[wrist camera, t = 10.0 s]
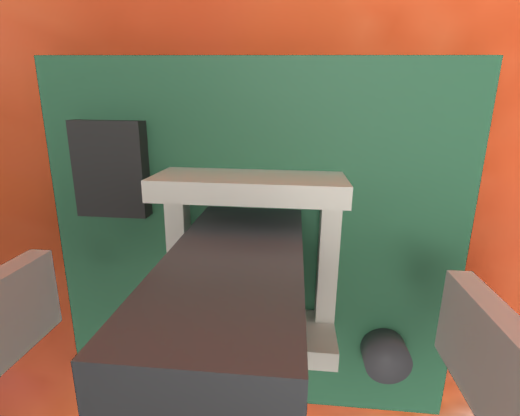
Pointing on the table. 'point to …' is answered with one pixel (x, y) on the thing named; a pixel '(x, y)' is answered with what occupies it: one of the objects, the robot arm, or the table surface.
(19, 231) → the table surface
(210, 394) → the plug
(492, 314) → the robot arm
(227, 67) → the board
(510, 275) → the table surface
